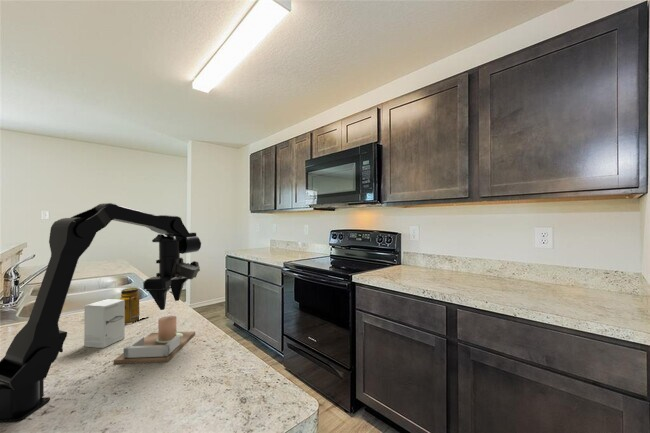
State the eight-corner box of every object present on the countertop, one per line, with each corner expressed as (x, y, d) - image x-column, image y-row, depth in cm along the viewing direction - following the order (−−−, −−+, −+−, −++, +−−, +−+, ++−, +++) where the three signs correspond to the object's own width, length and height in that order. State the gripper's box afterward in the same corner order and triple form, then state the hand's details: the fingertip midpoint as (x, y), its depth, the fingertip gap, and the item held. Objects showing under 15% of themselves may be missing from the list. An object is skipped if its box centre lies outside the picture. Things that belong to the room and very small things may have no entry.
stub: (171, 340, 86) (171, 321, 86) (154, 341, 86) (154, 321, 86) (179, 334, 91) (179, 315, 91) (163, 334, 91) (163, 316, 91)
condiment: (114, 323, 105) (114, 290, 105) (136, 315, 113) (136, 285, 113) (128, 325, 102) (127, 292, 102) (149, 317, 110) (149, 287, 110)
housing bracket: (167, 356, 76) (167, 346, 76) (123, 357, 75) (123, 348, 75) (179, 344, 83) (179, 335, 83) (139, 345, 82) (139, 337, 82)
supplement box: (103, 348, 83) (103, 306, 84) (83, 346, 85) (83, 305, 85) (125, 338, 91) (125, 299, 91) (106, 336, 92) (106, 298, 92)
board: (167, 361, 75) (167, 357, 75) (113, 363, 74) (113, 359, 74) (195, 334, 93) (195, 331, 93) (151, 335, 92) (151, 332, 92)
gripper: (182, 259, 80) (182, 314, 80) (206, 251, 98) (207, 296, 98) (141, 260, 79) (142, 315, 79) (173, 252, 98) (174, 297, 98)
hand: (170, 305), depth 89 cm, fingers open, 9 cm apart
